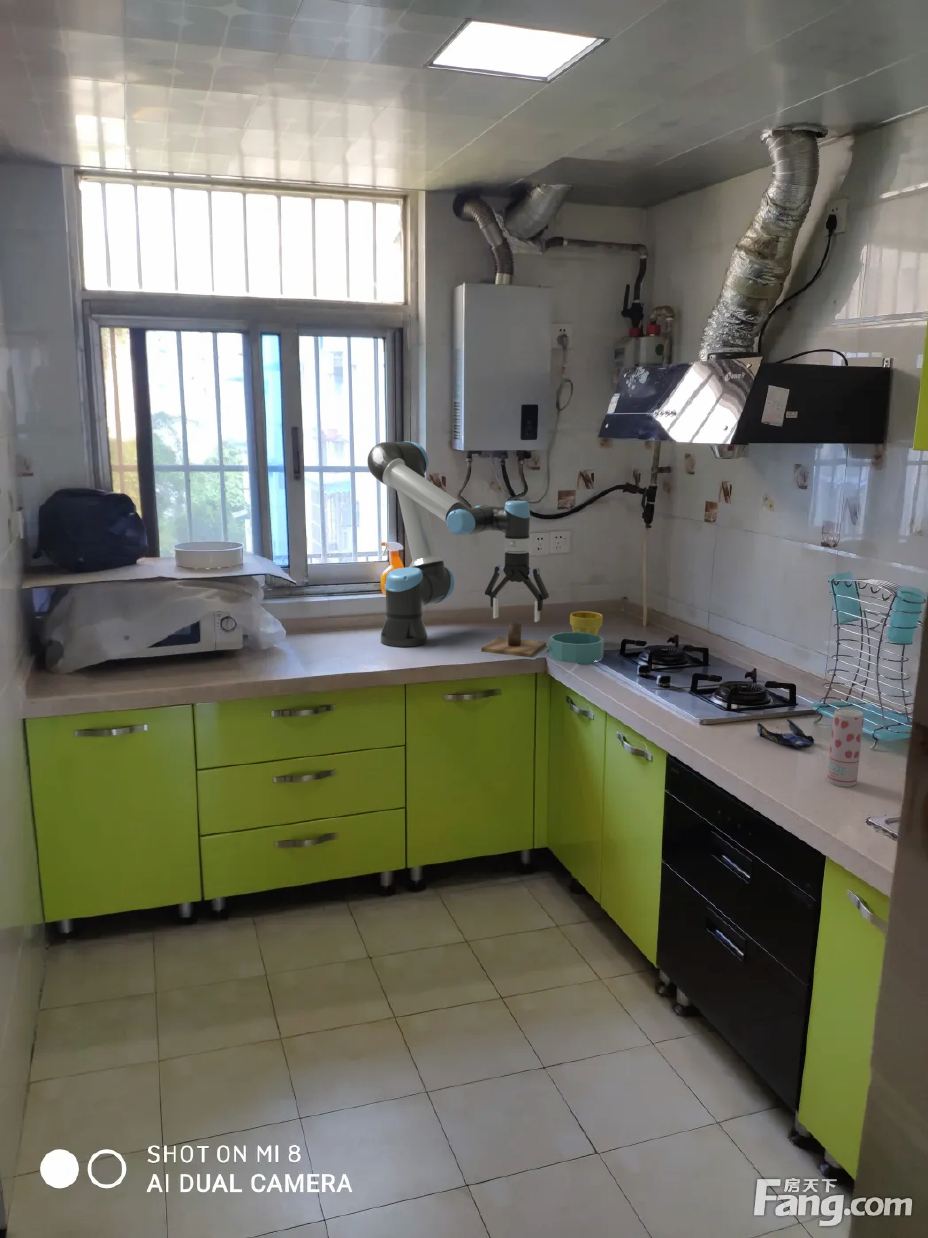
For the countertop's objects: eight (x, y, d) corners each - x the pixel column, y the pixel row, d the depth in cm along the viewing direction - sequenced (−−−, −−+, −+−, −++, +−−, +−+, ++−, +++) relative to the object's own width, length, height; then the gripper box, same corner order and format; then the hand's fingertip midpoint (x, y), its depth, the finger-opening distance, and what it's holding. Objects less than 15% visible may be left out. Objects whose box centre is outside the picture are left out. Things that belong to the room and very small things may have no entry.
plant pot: (591, 649, 296) (592, 619, 294) (563, 644, 302) (564, 614, 300) (606, 643, 304) (608, 614, 302) (579, 638, 310) (580, 609, 308)
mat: (472, 653, 288) (472, 652, 288) (495, 640, 306) (495, 638, 306) (534, 661, 281) (534, 659, 281) (554, 646, 299) (554, 645, 299)
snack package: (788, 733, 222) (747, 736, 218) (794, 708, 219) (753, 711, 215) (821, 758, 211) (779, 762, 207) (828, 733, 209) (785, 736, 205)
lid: (481, 651, 289) (481, 625, 287) (499, 640, 304) (499, 615, 302) (530, 657, 283) (531, 630, 281) (546, 645, 298) (547, 620, 296)
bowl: (542, 660, 282) (543, 641, 281) (558, 648, 296) (559, 630, 295) (594, 666, 276) (595, 646, 275) (607, 654, 290) (608, 635, 289)
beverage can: (820, 780, 191) (828, 710, 188) (837, 774, 195) (844, 705, 191) (845, 789, 187) (853, 718, 184) (862, 783, 190) (870, 713, 187)
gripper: (474, 550, 288) (474, 618, 292) (552, 555, 279) (550, 624, 283) (483, 548, 295) (483, 614, 299) (559, 552, 286) (558, 620, 290)
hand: (516, 619), depth 291 cm, fingers open, 13 cm apart
